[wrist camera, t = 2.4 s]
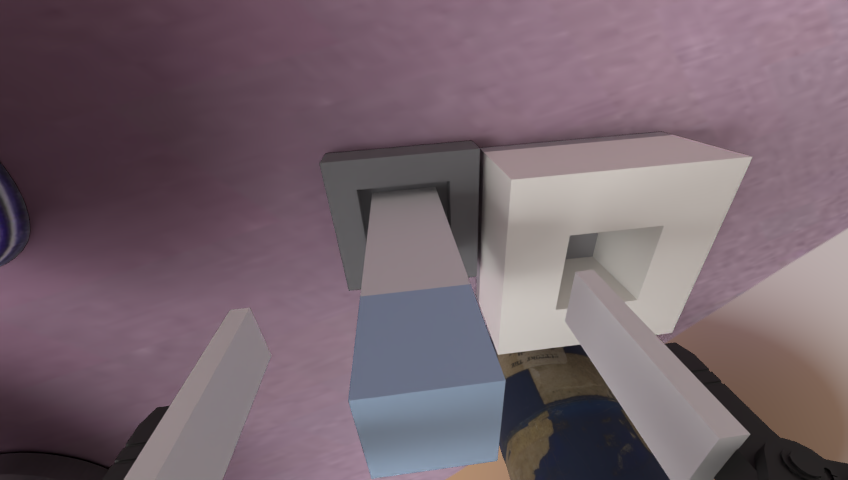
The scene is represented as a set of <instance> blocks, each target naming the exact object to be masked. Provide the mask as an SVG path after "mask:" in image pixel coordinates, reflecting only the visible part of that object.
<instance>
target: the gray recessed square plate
mask: <svg viewBox="0 0 848 480" xmlns="http://www.w3.org/2000/svg"><path fill="white" fill-rule="evenodd" d="M319 164H320V168H321V172H322V177H323V181H324V185H325V190H326V194H327V198H328V203H329V207H330V211H331V215H332V220H333V224H334V228H335V233H336V237H337V241H338V246H339V250H340V254H341V259H342V263H343V267H344V271H345V276H346V280H347V284H348V289H349V291H350V290H359V289H361V286H362V277H363V269H364V260H365V251H366V243H367V234H368V225H369V217H370V208H371V199H372V193H379V192H389V191H399V190H410V189H420V188H431V187H436V190H437V193H438V196H439V198H440V201H441V204H442V207H443V209H444V212H445V215H446V218H447V220H448V223H449V226H450V229H451V231H452V234H453V237H454V240H455V242H456V245H457V248H458V251H459V253H460V256H461V259H462V262H463V264H464V267H465V270H466V273H467V275H468V277H476V276H477V245H478V204H479V164H480V148H479V147H478V146H477V145H476V144H475V143H474V142H473V141H462V142H450V143H439V144H428V145H417V146H405V147H394V148H383V149H371V150H360V151H349V152H337V153H326V154H325V155H324V157H323V158H322V160H321V161H320V163H319Z"/></svg>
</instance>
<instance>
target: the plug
mask: <svg viewBox="0 0 848 480" xmlns="http://www.w3.org/2000/svg"><path fill="white" fill-rule="evenodd" d="M505 382H506V380H505V377H504V375H503V372H502V369H501V366H500V364H499V361H498V358H497V355H496V353H495V350H494V347H493V344H492V342H491V339H490V336H489V333H488V331H487V328H486V325H485V322H484V320H483V317H482V314H481V311H480V309H479V306H478V303H477V300H476V297H475V295H474V292H473V289H472V286H471V284H470V281H469V278H468V275H467V273H466V270H465V267H464V264H463V262H462V259H461V256H460V253H459V251H458V248H457V245H456V242H455V240H454V237H453V234H452V231H451V229H450V226H449V223H448V220H447V218H446V215H445V212H444V209H443V207H442V204H441V201H440V198H439V196H438V193H437V190H436V187H431V188H420V189H410V190H399V191H389V192H379V193H372V199H371V208H370V217H369V225H368V234H367V243H366V251H365V260H364V269H363V277H362V286H361V295H360V303H359V312H358V320H357V329H356V338H355V346H354V355H353V364H352V372H351V381H350V390H349V398H348V402H349V405H350V408H351V412H352V415H353V418H354V422H355V425H356V428H357V432H358V435H359V438H360V442H361V445H362V448H363V452H364V455H365V458H366V462H367V465H368V468H369V472H370V475H371V478H372V479H374V478H381V477H388V476H395V475H402V474H409V473H416V472H423V471H430V470H437V469H444V468H451V467H458V466H465V465H472V464H479V463H486V462H493V461H497V460H498V449H499V440H500V430H501V421H502V411H503V401H504V391H505Z"/></svg>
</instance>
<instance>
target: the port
mask: <svg viewBox="0 0 848 480" xmlns="http://www.w3.org/2000/svg"><path fill="white" fill-rule="evenodd" d="M751 159H752V156H748V155H745V154H741V153H737V152H734V151H730V150H726V149H723V148H719V147H716V146H712V145H708V144H705V143H701V142H697V141H694V140H690V139H686V138H683V137H679V136H676V135H672V134H668V133H665V132H652V133H641V134H630V135H619V136H608V137H597V138H585V139H574V140H563V141H552V142H541V143H530V144H519V145H508V146H496V147H485V148H480V164H479V204H478V245H477V276H476V297H477V300H478V302H479V305H480V308H481V311H482V313H483V316H484V319H485V321H486V324H487V327H488V330H489V332H490V335H491V338H492V340H493V343H494V346H495V349H496V351H497V354H498V355H500V354H508V353H516V352H524V351H532V350H540V349H548V348H556V347H564V346H572V345H580V343H579V342H578V340H577V339H576V337H575V336H574V334H573V333H572V331H571V330H570V328H569V327H568V325H567V324H566V322H565V318H566V313H567V309H568V304H569V299H570V295H571V290H572V285H573V281H574V276H575V272H578V271H587V270H594V271H595V272H596V273H597V274H598V275H599V276H600V277H601V278H602V279H603V280H604V281H605V282H606V283H607V285H608V286H609V287H610V288H611V289H612V290H613V291H614V292H615V293H616V294H617V295H618V296H619V297H620V298H621V299H622V300H623V301H624V302H625V303H626V304H627V305H628V307H629V308H630V309H631V310H632V311H633V312H634V313H635V314H636V315H637V316H638V317H639V318H640V319H641V320H642V321H643V322H644V323H645V324H646V325H647V326H648V327H649V328H650V330H651V331H652V332H653V333H654V334H655V335H660V334H668V333H672V332H673V330H674V328H675V325H676V323H677V321H678V319H679V317H680V314H681V312H682V310H683V308H684V306H685V304H686V301H687V299H688V297H689V295H690V293H691V290H692V288H693V286H694V284H695V282H696V280H697V277H698V275H699V273H700V271H701V269H702V266H703V264H704V262H705V260H706V258H707V256H708V253H709V251H710V249H711V247H712V245H713V242H714V240H715V238H716V236H717V234H718V231H719V229H720V227H721V225H722V223H723V221H724V218H725V216H726V214H727V212H728V210H729V207H730V205H731V203H732V201H733V199H734V197H735V194H736V192H737V190H738V188H739V186H740V183H741V181H742V179H743V177H744V175H745V173H746V170H747V168H748V166H749V164H750V162H751Z"/></svg>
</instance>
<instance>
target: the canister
mask: <svg viewBox="0 0 848 480" xmlns="http://www.w3.org/2000/svg"><path fill="white" fill-rule="evenodd" d="M490 339H491V342H492V344H493V347H494V350H495V353H496V355H497V358H498V361H499V364H500V366H501V369H502V372H503V375H504V377H505V380H506V382H505V391H504V401H503V411H502V421H501V430H500V440H499V445H500V449H501V452H502V456H503V458H504V461H505V463H506V466H507V469H508V472H509V476H510V479H511V480H670V479H669V477H668V476H667V474H666V473H665V471H664V470H663V468H662V467H661V465H660V464H659V462H658V461H657V459H656V458H655V456H654V455H653V453H652V452H651V450H650V449H649V447H648V446H647V444H646V443H645V441H644V440H643V438H642V437H641V435H640V434H639V432H638V431H637V429H636V428H635V426H634V425H633V423H632V422H631V420H630V419H629V417H628V416H627V414H626V413H625V411H624V409H623V408H622V406H621V405H620V403H619V402H618V400H617V399H616V397H615V396H614V394H613V393H612V391H611V390H610V388H609V387H608V385H607V384H606V382H605V381H604V379H603V378H602V376H601V375H600V373H599V372H598V370H597V369H596V367H595V366H594V364H593V363H592V361H591V360H590V358H589V357H588V355H587V354H586V352H585V351H584V349H583V348H582V346H581V345H572V346H564V347H556V348H548V349H540V350H532V351H524V352H516V353H508V354H500V355H498V354H497V351H496V349H495V346H494V343H493V340H492V338H491V337H490Z"/></svg>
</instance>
